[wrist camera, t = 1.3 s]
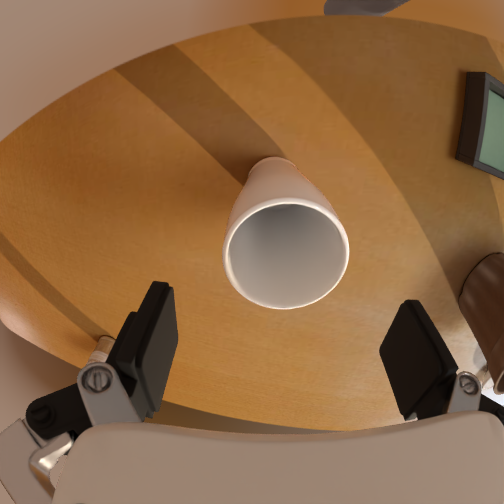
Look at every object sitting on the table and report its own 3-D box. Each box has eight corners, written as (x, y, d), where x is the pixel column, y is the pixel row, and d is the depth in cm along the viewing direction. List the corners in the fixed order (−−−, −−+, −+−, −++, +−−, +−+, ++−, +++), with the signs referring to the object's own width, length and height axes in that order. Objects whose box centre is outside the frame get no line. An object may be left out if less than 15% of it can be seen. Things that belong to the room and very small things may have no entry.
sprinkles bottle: (113, 333, 39) (80, 402, 28) (128, 352, 41) (102, 420, 30) (94, 336, 40) (61, 399, 28) (109, 354, 42) (82, 417, 31)
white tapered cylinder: (240, 213, 29) (223, 310, 16) (239, 148, 26) (216, 195, 13) (306, 214, 29) (340, 310, 16) (310, 149, 26) (361, 199, 13)
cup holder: (466, 71, 19) (485, 71, 16) (519, 105, 19) (536, 109, 16) (455, 158, 25) (472, 166, 22) (506, 180, 25) (523, 189, 22)
